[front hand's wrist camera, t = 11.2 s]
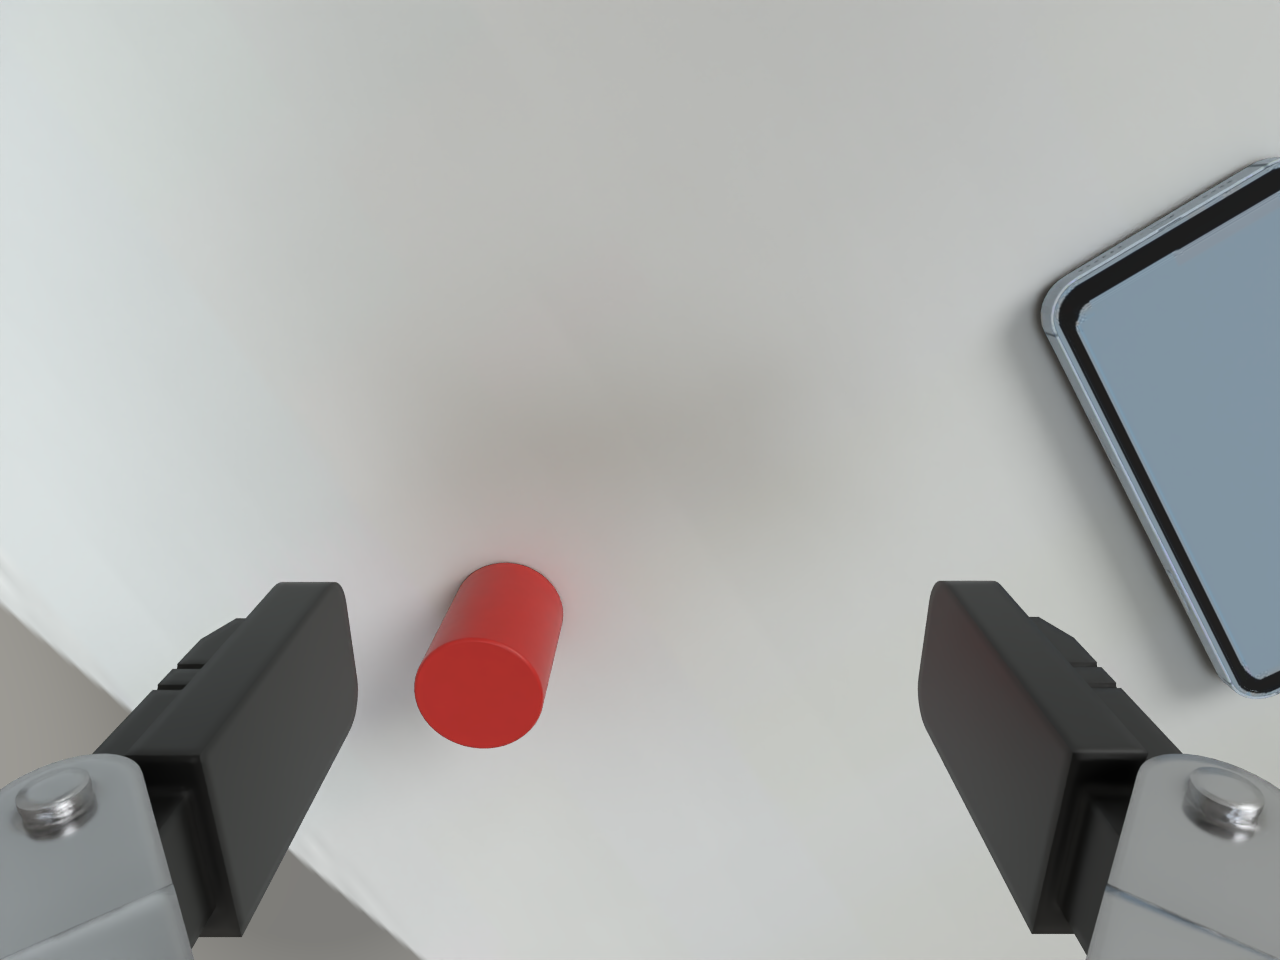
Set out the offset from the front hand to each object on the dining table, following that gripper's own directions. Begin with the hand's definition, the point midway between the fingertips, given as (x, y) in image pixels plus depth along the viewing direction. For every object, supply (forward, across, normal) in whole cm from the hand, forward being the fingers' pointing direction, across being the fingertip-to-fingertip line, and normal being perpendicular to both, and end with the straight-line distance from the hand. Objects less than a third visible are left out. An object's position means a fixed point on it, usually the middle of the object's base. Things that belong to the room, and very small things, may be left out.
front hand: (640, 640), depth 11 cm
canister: (+14, -4, -7) cm, 16 cm away
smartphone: (+13, +18, -1) cm, 22 cm away
